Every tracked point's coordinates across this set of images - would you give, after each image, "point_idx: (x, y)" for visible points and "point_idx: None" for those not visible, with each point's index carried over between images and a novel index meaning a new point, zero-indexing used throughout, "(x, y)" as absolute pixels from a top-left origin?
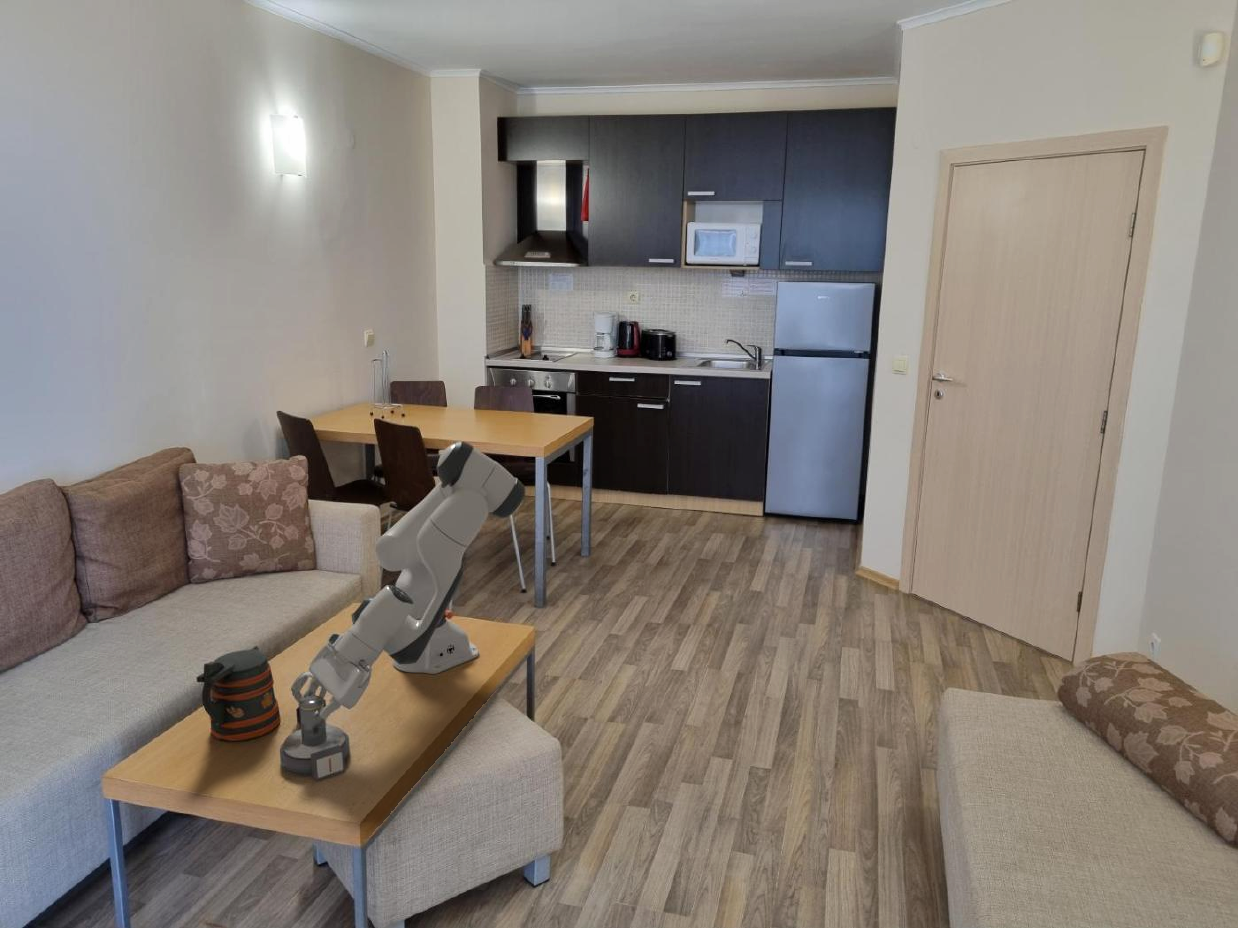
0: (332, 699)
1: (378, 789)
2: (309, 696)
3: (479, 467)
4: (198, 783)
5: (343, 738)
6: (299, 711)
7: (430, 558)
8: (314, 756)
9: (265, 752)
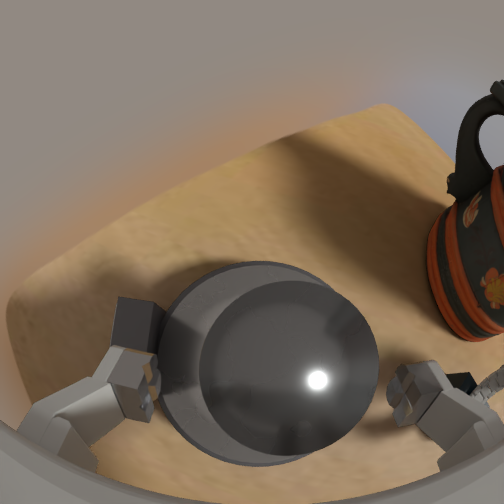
0: (41, 431)
1: (36, 387)
2: (375, 381)
3: None
4: (313, 143)
5: (204, 442)
6: (461, 379)
7: None
8: (133, 305)
9: (363, 270)
